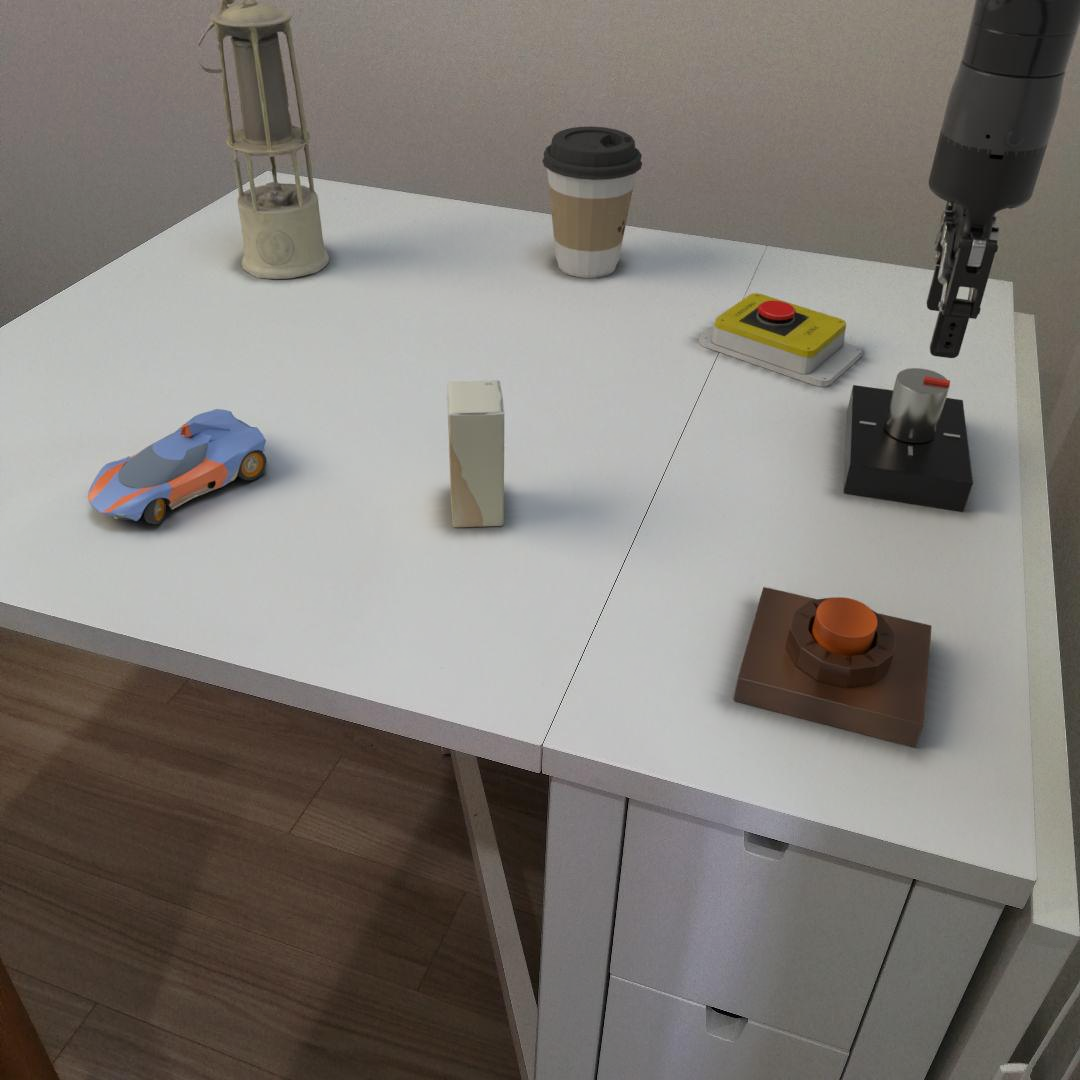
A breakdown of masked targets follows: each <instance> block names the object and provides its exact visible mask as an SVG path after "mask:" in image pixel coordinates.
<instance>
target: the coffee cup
mask: <svg viewBox="0 0 1080 1080" xmlns="http://www.w3.org/2000/svg"><path fill="white" fill-rule="evenodd" d="M635 141H636V140H635V139H634V138H633V136H632V135H630V134H629V133H627V132H625V131H622V130H619V129H615V128H611V127H605V126H592V125H591V126H577V127H569V128H566V129H562V130H559V131H557V133H555V134H553V136H552V138H551V143H550V144H549V145H547V146H546V147H545V149H544V152H543V159H542V161H541V162H542V165H543V167H544V168H546V171H547V181H548V191H549V202H550V213H551V222H552V232H553V240H554V241H553V243H554V252H555V259H556V262H557V265H558V269H559V270H560V271H562V273H564V274H566V275H569V276H572V277H575V278H581V279H582V278H583V279H593V278H594V279H598V278H602V277H606V276H609V275H611V274H612V273H614V272H615V271H616V268H617V265H618V263H619V260H620V257H621V250H622V246H623V242H624V241H623V240H624V235H625V231H626V225H627V221H628V215H629V211H630V207H631V206H630V205H631V201H632V196H633V191H634V185H635V180H636V175H637V172H639V171H640V170H642V166H643V162H642V156H643V155H642V153H641V151H640V150H639V149H638V148H637V147H636V142H635Z"/></svg>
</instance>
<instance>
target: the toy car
mask: <svg viewBox="0 0 1080 1080" xmlns="http://www.w3.org/2000/svg"><path fill="white" fill-rule="evenodd" d="M266 442H267V440H266V438H265V436H264V434H263V433H262V432H261V430H260V429H259V428H258V427H257V426H250V425H249V424H247V423H246V422H245V421H243V420H241V419H238V418H237V417H235V415H233V412H232V411H231V410H227V409H220V408H215V409H212V410H209V411H206V412H205V411H204V412H202V413H199V414H196V415H195V416H193V417H192V418H191V419H189V420H188V421H186V422H185V423H184V424H182V425H181V426H180V427H179V428H178V429H177V430H175V431H174V432H172V433H170V434H168V435H166V436H164V437H163V438H160V439H159V440H157V441H155V442H153V443H150V445H148V446H146V447H144V448H143V449H142V450H140V451H139V452H138V453H136V454H134V455H132V456H126V457H124V458H122V459H118V460H114V461H111V462H108V463H106V464H105V465H103V466H102V467H101V468H100V470H99V471H98V473H97V474H96V476H95V478H94V479H93V481H92V483H91V484H90V487H89V489H88V493H87V499H88V503H89V504H90V505H91V507H92V508H93V509H94V510H96V511H97V512H99V513H101V514H103V515H108V516H111V517H113V518H114V519H115V520H123V521H125V520H126V521H128V520H130V521H134V522H138V521H139V520H140V519H141V517H142V515H143V518H144V520H145V522H146V523H148V524H151V525H159V524H161V523H162V522H163V521H164V519H165V517H166V512H167V506H168V507H169V508H170V510H172V511H173V510H174V509H176V508H178V507H180V506H182V505H183V504H185V503H187V502H189V501H190V500H193V499H194V498H195V499H196V498H197V497H199V496H200V497H201V496H202V495H204V494H207V493H209V492H212V491H215V490H217V489H219V488H223V487H225V486H226V485H228V484H230V483H231V482H233V481H235V480H236V478H237V477H238V478H240V479H242V480H244V481H254V480H257V479H258V478H260V477H261V475H262V474H264V472H265V470H266V467H267V456H266V454H265V447H266Z"/></svg>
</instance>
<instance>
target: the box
mask: <svg viewBox="0 0 1080 1080" xmlns="http://www.w3.org/2000/svg"><path fill="white" fill-rule="evenodd" d="M446 402H447V403H446V406H447V426H448V427H447V428H448V429H447V431H448V450H449V451H448V452H449V453H448V454H449V479H450V481H449V482H450V483H449V484H450V508H451V509H450V510H451V523H452V528H477V527H478V528H481V527H482V528H483V527H502V526H504V523H505V522H504V521H505V520H504V519H505V518H504V517H505V516H504V515H505V513H504V511H505V406H504V405H505V404H504V397H503V390H502V385H501V381H500V380H499V379H495V380H493V379H492V380H468V381H467V380H457V381H456V380H455V381H454V380H453V381H447V383H446Z"/></svg>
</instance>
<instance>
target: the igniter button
mask: <svg viewBox="0 0 1080 1080" xmlns="http://www.w3.org/2000/svg"><path fill="white" fill-rule="evenodd" d="M829 598H830V599H827V600H825V601H823V602H822V603H821V604H820V605H819V606H818V608H817V611H816V615H815V620H814V624H813V628H812V634H813V637H814V639H815V641H816V642H817V643H818V644H819V645H820V646H822V647H823V648H825V649H826V650H828V651H829V652H833V653H838V654H842V655H846V656H853V655H860V654H863V653H865V652H866V651H867V650H869V648H870V647H871V645H872V642H873V638H874V635H875V631H876V628H877V624H878V622H877V617H876V615H875V613H874V612H873V611H874V610H873V609H872V608H870V607H869V606H868V605H866V604H865V603H863V602H861V601H859V600H856V599H853V598H850V597H841V596H839V597H838V596H837V597H835V598H833V597H829ZM871 609H872V610H873V611H872V610H871Z"/></svg>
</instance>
